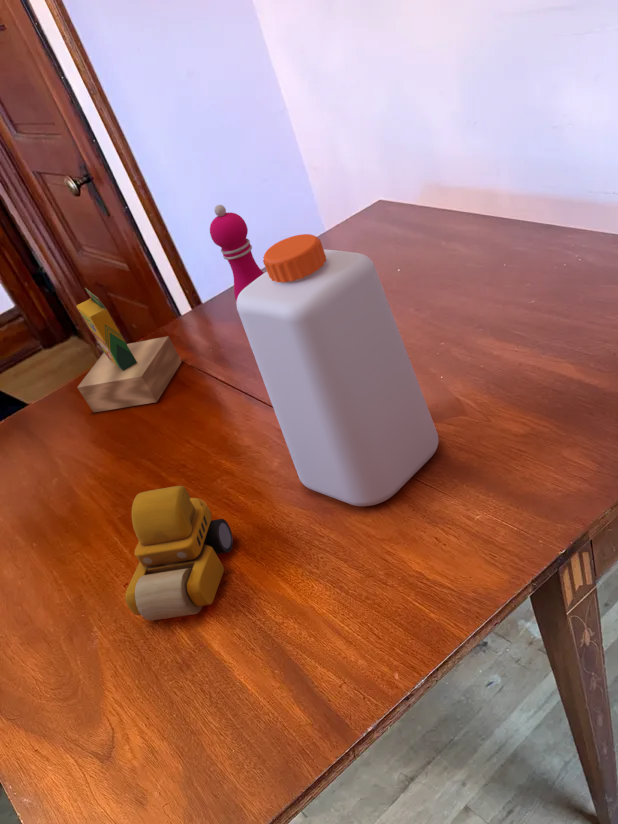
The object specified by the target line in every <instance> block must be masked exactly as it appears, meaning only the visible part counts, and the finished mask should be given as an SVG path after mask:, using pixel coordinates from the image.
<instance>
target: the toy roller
mask: <svg viewBox="0 0 618 824" xmlns="http://www.w3.org/2000/svg"><path fill="white" fill-rule="evenodd" d="M131 523H132V527H133V531H134V534H135V536H136V538H137V540H138V542H137V544H136V547H135V549H134V552H133V553H134V556H135V557H136V559H137V560H138V563H137V566H136V569H135V571H134V573H133V575H132V577H131V579H130V582H129V584H128V586H127V588H126V591H125V595H124V599H125V603H126V606H127V607H128V609H129V610H130V612H131V613H132V614H134V615H135V616H141V617H142V618H144V619H145V620H147V621H148V622H149V621H150V622H151V621H158V620H164V619H165V620H166V619H172V618H179V617H186V616H192V615H197V614H199V613H201V610H202V609H203V607H204V606H209V605H212V604H213V602H214V600H215V597H216V594H217V591H218V588H219V585H220V583H221V580H222V577H223V574H224V571H225V568H224V566H223V564H222V561H221V560H220V558H219V557H218V555H224V554H228V553H230V552H231V551H232V550H233V545H234V544H233V543H234V537H233V533H232V529H231V527H230V525H229V523H228V522H227V521H226V520H225V519H224V518H218V519H212V512H211V510H210V507H209V506H208V505H207V503H206V502H205V500H203V499H201V498H198V497H191V496H190V494H189V492H188V490H187V488H186V487H185V486H183V485H176V486H175V485H174V486H169V487H162V488H156V489H151V490H146V491H142V492H139V493H137V494H136V496H135V497H134V499H133V501H132V504H131Z"/></svg>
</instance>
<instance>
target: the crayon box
mask: <svg viewBox="0 0 618 824" xmlns="http://www.w3.org/2000/svg"><path fill="white" fill-rule="evenodd" d="M84 290H85V291H86V292H87V294H88V296H89V297H90V298H88V299H87V300H85V301H82V302H81V303H79V304H77V305H76V306H75V307H76V308H77V311H78V312H79V314H80V315H81V317H82V318H83V320H84V322H85V323H86V325H87V326H88V328H89V330H90V332H91V333H92V334H93V336H94V338H95V339H96V341H97V343H98V344H99V346H100V348H101V349H102V351H103V353H105V354H106V356H107V357H108V358H109V359H110V360H111V361H112V362H113V363H115V364H116V365H117V366H118V367H119V368H120V369H121V370H123V371H124V370H125V369H127V368H129V367H131V366H133V365H134V364H136V363H137V361H136V359H135V357H134V356H133V354H132V352H131V351H130V349H129V347H128V346H127V344H128V343H127V342H126V341H125V339H124V337H123V335H122V334H121V331H120V330H119V329H118V327H117V324H116V323H115V321H114V320H113V318H112V317H111V315H110V312H109V311H108V309H107V307H106V306H105V305H104V304H103V302H102V300H101V299H100V298H99V297H98V296H97V295H95V294H94V293H92V291H90V290H89V289H87V287H84Z"/></svg>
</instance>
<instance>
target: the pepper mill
mask: <svg viewBox="0 0 618 824" xmlns="http://www.w3.org/2000/svg"><path fill="white" fill-rule="evenodd" d="M214 213H215V215H216V217H215V218H213V220H212V221H211V223H210V226H209V234H210V237H211V240H212V242H213V243H214V245H216V246H218V247H220V248H221V249H220V253H221V254H222V257H223V259H224V260H225V261H226V260H227V262H228V264H229V266H230V269H231V271H232V275H233V276H232V277H233V290H234V291H233V294H234V299H235V303H236V302H237V298H238V295H239V294H240V292H241V291H242V290H243V289H244V288H245V287H247V286H248V285H249V284H250V283H252V282H253V281H254V280H256V279H257V278H258V277H260V276H261V275H262V274H264V273H265V272H264V271H263V270H262V269H261V268H260V267H259V265H258V264H257V262H256V260H255V258H254V256H253V253H252V249H253V245H252V244H251V241H250V239H249V238H248V237H247V236H248V232H249V231H248V225H247V223H246V221H245V219H244V218H243V217H242V216H241V215H240V214H238V213H235V212H227V209H226V207H225V206H224V205H222V204H217V205H216V206H215V207H214Z"/></svg>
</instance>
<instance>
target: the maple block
mask: <svg viewBox="0 0 618 824" xmlns="http://www.w3.org/2000/svg"><path fill="white" fill-rule="evenodd" d="M126 344H127V346H128V347H129V349H130V351H131V352H132V354H133V356H134V357H135V359H136V361H137V363H136V364H134V365H133V366H131V367H129V368H127V369H125V370H124V371H123V370H121V369H120V368H119V367H118V366H117V365H116V364H115V363H113V362H112V361H111V360H110V359H109V358H108V357H107V356H106V354H105V353H104V352H103V353H101V355H100V356H99V358H98V359H97V361H96V362H95V363H94V365H92V367H91V369H90V370H89V371H88V372H87V373H86V375H85V376H84V378H83V379H82V380H81V382H79V384H78V386H77V390H78V391H79V392H80V394H81V396H82V397H83V399H84V400H85V402H86V403H87V405H88V406H89V408H90V410H91V411H92V412H93V413H100V412H106V411H111V410H118V409H119V410H120V409H125V408H130V407H135V406H136V407H137V406H143V405H148V404H153V403H158V401H159V400H160V398H161V396H162V395H163V394H164V392H165V391H166V388H167V387H168V386H169V384H170V382H171V380H172V378H173V377H174V375H175V374H176V372H177V370H178V369H179V367H180V366H181V363H182V362H183V361H182V359H181V357H180V356H179V353H178V351H177V349H176V347H175V346H174V344H173V342H172V341H171V338H170V336H168V335H167V336H162V337H157V338H151V339H147V340H141V341H136V342H131V343H126Z"/></svg>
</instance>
